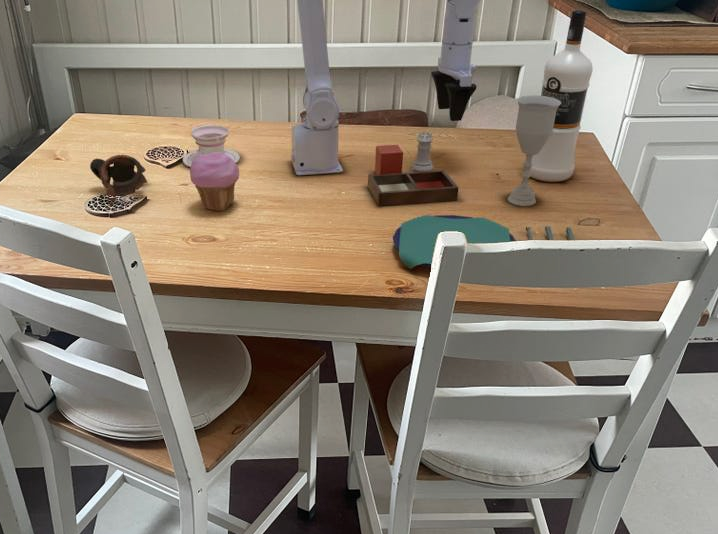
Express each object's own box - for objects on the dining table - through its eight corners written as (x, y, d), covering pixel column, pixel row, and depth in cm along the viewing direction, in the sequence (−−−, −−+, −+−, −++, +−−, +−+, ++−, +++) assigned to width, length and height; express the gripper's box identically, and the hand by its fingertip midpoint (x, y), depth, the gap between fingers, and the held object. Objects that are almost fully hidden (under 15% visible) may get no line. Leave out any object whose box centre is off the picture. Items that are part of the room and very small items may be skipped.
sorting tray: (378, 206, 133) (379, 193, 132) (367, 187, 140) (368, 175, 139) (457, 200, 135) (458, 187, 133) (442, 182, 142) (443, 169, 141)
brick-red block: (379, 180, 143) (381, 153, 140) (374, 172, 146) (375, 145, 143) (401, 179, 143) (403, 152, 140) (395, 171, 147) (397, 144, 144)
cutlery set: (394, 222, 127) (395, 210, 126) (571, 231, 124) (573, 218, 122) (389, 277, 112) (390, 263, 110) (591, 289, 108) (595, 275, 106)
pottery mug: (159, 186, 143) (154, 158, 136) (136, 222, 139) (130, 196, 132) (104, 165, 144) (96, 137, 137) (80, 201, 141) (71, 173, 133)
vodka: (582, 177, 143) (619, 11, 125) (547, 187, 139) (580, 17, 122) (548, 162, 150) (578, 3, 132) (514, 171, 146) (540, 8, 128)
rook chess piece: (434, 177, 144) (438, 137, 139) (411, 177, 144) (415, 137, 139) (431, 169, 148) (435, 130, 143) (409, 169, 148) (412, 130, 143)
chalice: (543, 195, 136) (562, 97, 126) (540, 209, 131) (560, 108, 120) (503, 190, 138) (518, 94, 128) (499, 204, 133) (514, 105, 122)
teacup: (250, 162, 152) (248, 133, 148) (199, 175, 146) (196, 145, 143) (222, 146, 160) (220, 118, 156) (173, 158, 154) (169, 129, 151)
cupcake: (228, 219, 129) (224, 165, 123) (185, 213, 132) (178, 159, 126) (248, 200, 136) (245, 148, 130) (207, 194, 138) (202, 142, 133)
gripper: (491, 49, 132) (481, 124, 140) (465, 32, 143) (457, 102, 151) (454, 51, 131) (446, 126, 139) (430, 34, 143) (424, 104, 151)
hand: (449, 114), depth 145 cm, fingers open, 7 cm apart
